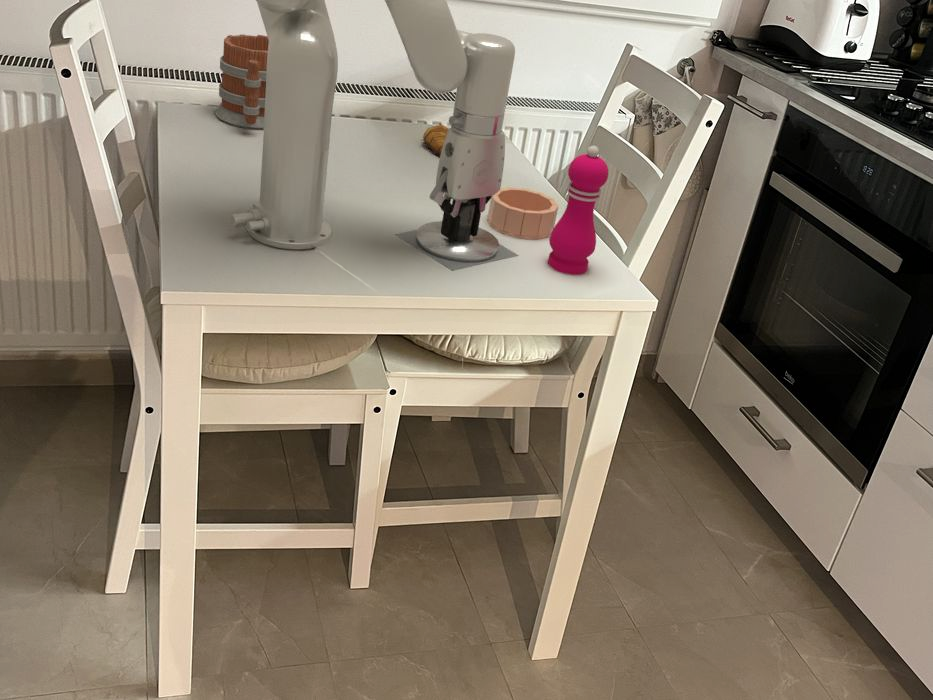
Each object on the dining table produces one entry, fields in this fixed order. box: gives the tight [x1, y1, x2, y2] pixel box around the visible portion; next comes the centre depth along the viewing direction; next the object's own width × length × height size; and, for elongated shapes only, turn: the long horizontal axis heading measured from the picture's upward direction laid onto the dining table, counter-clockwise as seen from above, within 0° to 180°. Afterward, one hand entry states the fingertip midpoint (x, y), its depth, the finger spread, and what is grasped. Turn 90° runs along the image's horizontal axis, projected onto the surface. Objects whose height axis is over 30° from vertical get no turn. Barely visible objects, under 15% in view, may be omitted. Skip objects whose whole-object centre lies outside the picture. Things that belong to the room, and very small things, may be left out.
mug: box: [215, 34, 269, 130], centre depth 192 cm, size 14×19×15 cm
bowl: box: [487, 187, 559, 241], centre depth 168 cm, size 11×11×5 cm
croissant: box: [422, 124, 450, 157], centre depth 199 cm, size 14×7×5 cm, turn 14°
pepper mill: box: [547, 145, 609, 276], centre depth 153 cm, size 7×7×20 cm
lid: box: [416, 199, 500, 263], centre depth 156 cm, size 13×13×7 cm
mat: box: [395, 229, 519, 272], centre depth 158 cm, size 14×14×1 cm
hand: (458, 234), depth 157 cm, fingers closed on lid, 3 cm apart
